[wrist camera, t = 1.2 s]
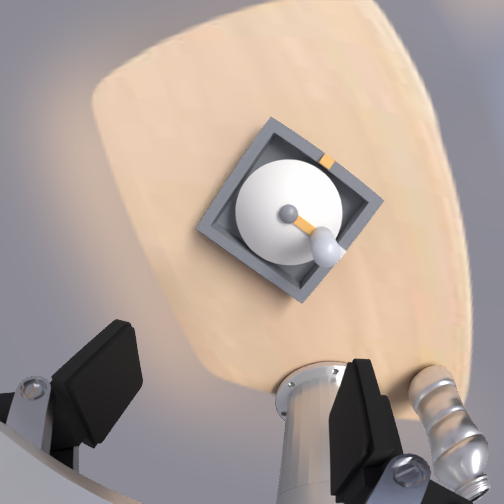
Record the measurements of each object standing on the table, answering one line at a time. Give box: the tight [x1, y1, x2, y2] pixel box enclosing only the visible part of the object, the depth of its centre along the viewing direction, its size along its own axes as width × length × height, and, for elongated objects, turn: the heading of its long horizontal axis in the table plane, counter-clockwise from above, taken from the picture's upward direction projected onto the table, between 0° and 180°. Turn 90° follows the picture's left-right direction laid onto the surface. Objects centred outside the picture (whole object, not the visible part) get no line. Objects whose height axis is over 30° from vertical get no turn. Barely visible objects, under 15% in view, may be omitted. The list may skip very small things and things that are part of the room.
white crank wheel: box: [236, 159, 342, 268], centre depth 23 cm, size 9×9×7 cm
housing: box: [196, 117, 384, 303], centre depth 25 cm, size 12×12×4 cm
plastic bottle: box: [408, 365, 490, 503], centre depth 20 cm, size 6×7×20 cm
